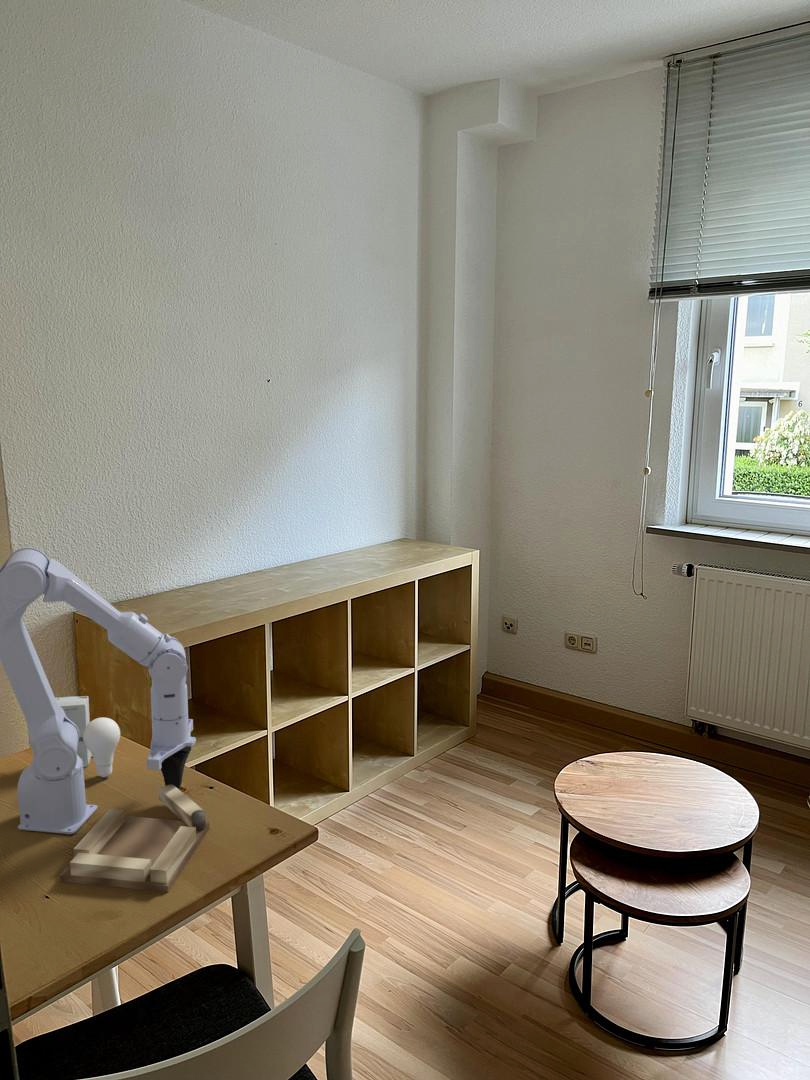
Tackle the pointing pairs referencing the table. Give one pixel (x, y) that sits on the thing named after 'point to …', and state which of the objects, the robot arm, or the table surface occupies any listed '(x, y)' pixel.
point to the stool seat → (133, 852)
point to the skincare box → (78, 721)
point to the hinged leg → (182, 806)
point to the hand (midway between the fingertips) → (173, 788)
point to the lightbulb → (102, 743)
